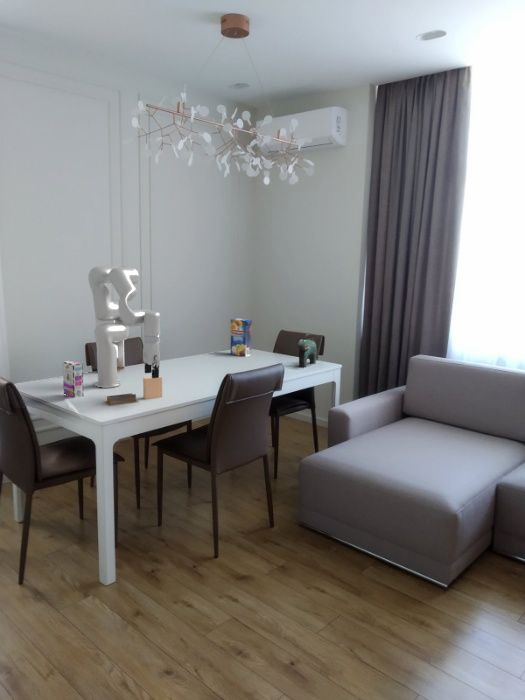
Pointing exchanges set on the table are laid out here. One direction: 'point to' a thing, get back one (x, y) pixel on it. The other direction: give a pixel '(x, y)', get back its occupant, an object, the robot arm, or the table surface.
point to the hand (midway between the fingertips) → (151, 375)
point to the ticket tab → (152, 387)
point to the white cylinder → (117, 344)
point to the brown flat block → (121, 399)
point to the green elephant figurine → (307, 351)
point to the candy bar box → (73, 378)
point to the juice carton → (241, 337)
